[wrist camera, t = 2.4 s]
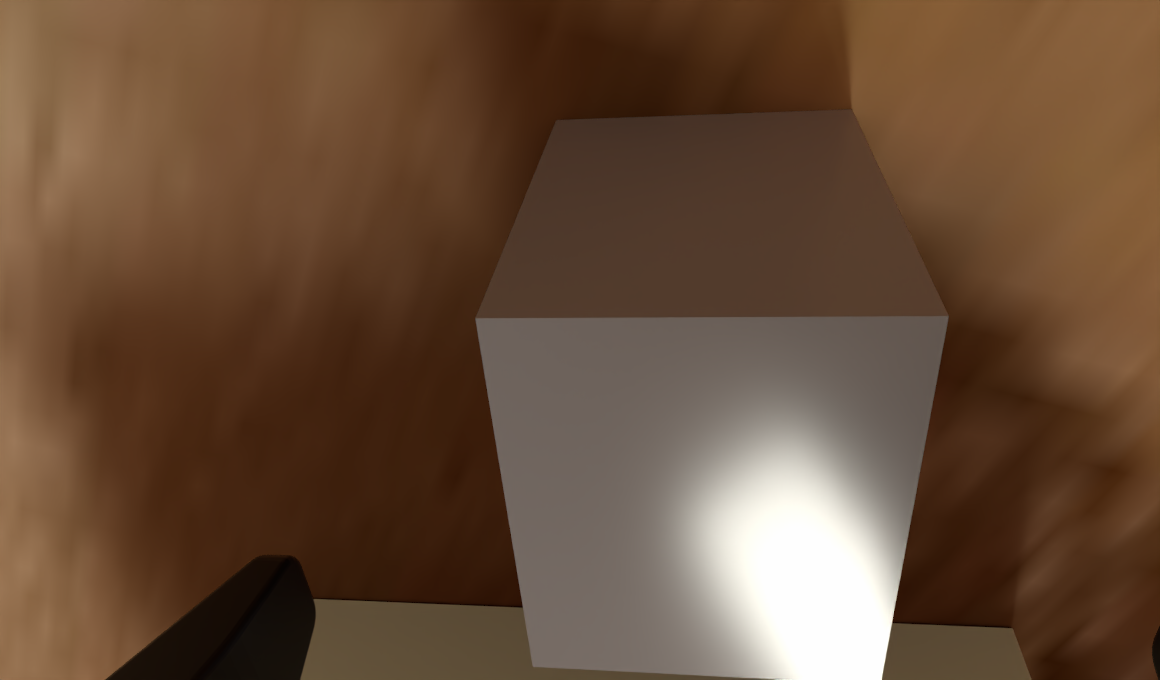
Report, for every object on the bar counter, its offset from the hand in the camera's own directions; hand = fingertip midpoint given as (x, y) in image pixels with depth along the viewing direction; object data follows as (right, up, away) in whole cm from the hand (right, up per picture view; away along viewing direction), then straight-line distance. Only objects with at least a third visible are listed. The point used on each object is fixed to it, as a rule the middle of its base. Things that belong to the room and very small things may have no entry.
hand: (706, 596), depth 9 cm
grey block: (+1, +4, +6) cm, 7 cm away
